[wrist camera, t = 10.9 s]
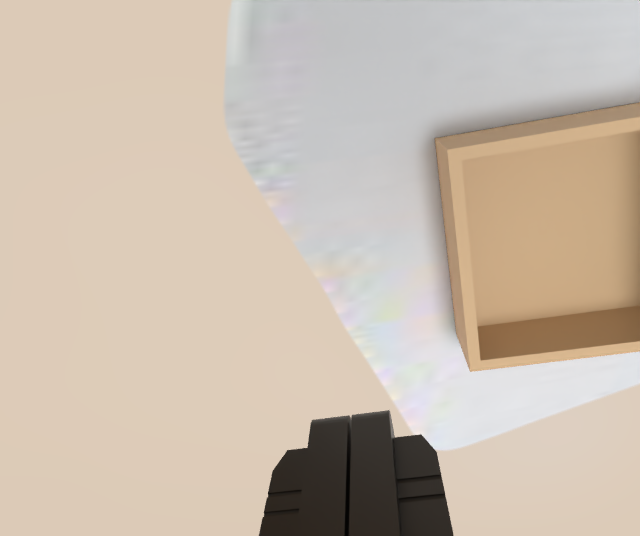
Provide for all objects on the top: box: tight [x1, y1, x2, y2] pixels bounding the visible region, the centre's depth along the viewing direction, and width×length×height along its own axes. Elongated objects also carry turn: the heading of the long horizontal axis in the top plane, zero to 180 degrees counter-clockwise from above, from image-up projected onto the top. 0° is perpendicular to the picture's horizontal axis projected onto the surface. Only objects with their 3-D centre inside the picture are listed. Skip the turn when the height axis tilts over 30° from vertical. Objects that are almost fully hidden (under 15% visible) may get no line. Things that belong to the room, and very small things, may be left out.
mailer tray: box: [435, 102, 640, 372], centre depth 38 cm, size 16×20×6 cm
